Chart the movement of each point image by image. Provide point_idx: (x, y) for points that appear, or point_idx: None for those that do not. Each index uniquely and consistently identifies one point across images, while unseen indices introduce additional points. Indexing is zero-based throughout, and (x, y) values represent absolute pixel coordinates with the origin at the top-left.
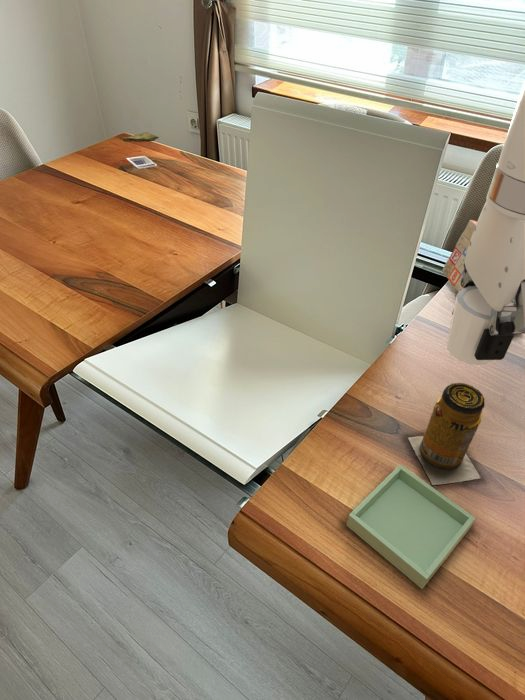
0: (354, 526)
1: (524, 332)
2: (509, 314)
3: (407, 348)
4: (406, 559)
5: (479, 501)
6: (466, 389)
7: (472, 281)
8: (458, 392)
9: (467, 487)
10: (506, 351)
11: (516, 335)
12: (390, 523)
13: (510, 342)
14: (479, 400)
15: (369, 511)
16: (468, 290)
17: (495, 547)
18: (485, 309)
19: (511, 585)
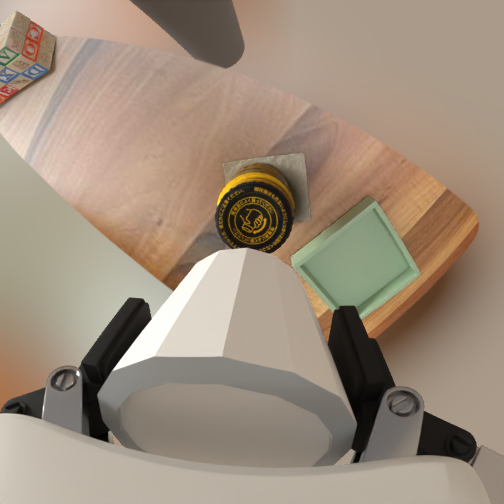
0: None
1: (470, 434)
2: (315, 418)
3: (72, 187)
4: (401, 287)
5: (335, 168)
6: (235, 211)
7: (91, 430)
8: (243, 229)
9: (315, 174)
10: (361, 321)
11: (55, 39)
12: (353, 281)
13: (371, 345)
14: (266, 196)
15: (335, 297)
16: None
17: (391, 176)
18: (271, 463)
19: (425, 180)
